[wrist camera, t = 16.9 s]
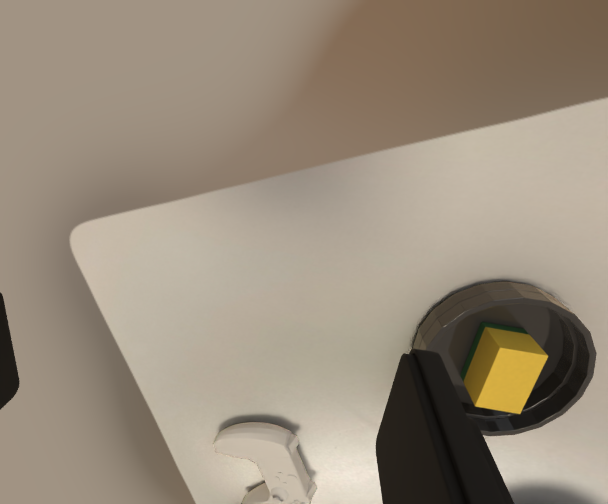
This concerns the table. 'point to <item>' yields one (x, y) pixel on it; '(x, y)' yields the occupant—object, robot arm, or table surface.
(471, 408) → the pan
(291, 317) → the table surface
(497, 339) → the sponge
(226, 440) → the game controller
